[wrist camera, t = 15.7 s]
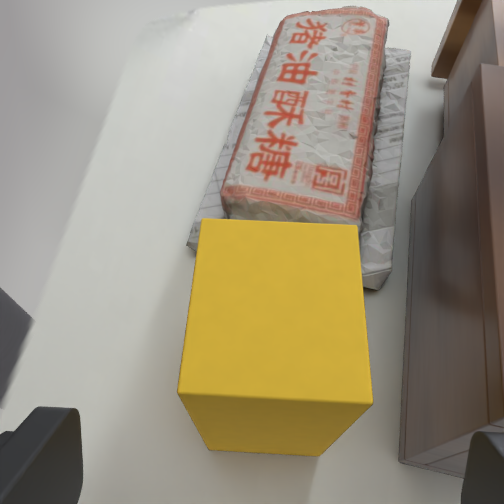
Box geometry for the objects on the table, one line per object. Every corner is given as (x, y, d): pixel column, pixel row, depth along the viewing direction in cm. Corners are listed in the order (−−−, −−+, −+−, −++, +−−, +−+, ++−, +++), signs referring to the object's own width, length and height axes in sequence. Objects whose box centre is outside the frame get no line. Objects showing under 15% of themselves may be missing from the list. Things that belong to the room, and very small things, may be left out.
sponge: (208, 450, 18) (176, 393, 10) (219, 332, 20) (201, 216, 13) (319, 456, 18) (374, 404, 10) (316, 337, 20) (357, 224, 13)
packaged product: (416, 244, 17) (173, 196, 18) (384, 298, 21) (187, 256, 22) (429, -1, 26) (268, -22, 28) (405, 70, 30) (265, 49, 32)
